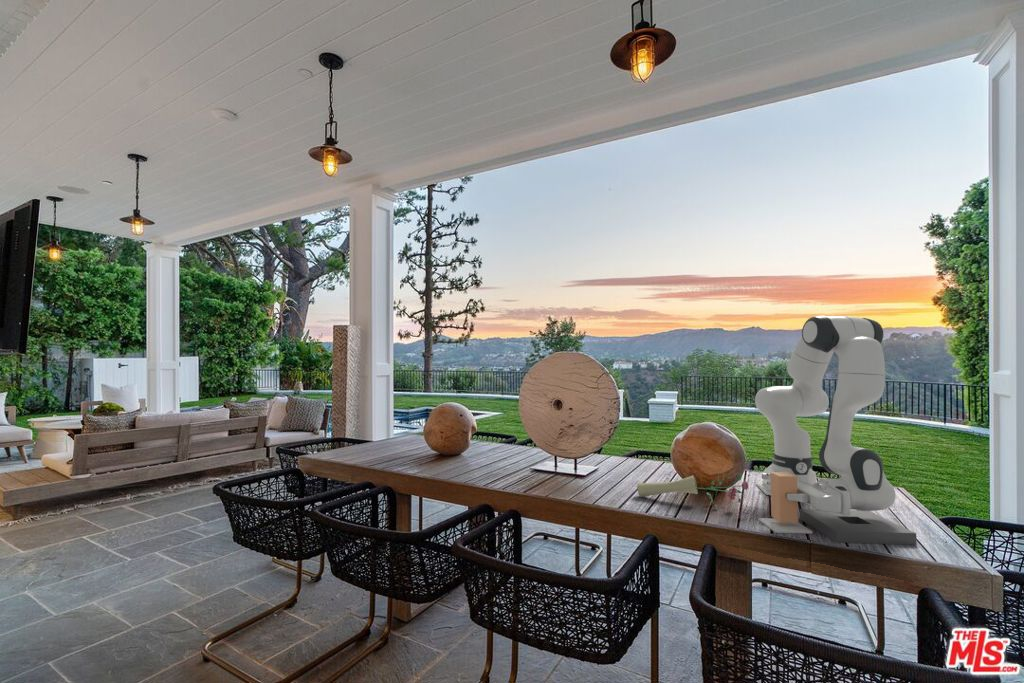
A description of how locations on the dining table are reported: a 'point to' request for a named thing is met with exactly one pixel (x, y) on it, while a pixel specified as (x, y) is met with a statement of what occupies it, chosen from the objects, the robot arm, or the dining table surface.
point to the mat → (784, 526)
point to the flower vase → (686, 487)
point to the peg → (783, 497)
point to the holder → (857, 527)
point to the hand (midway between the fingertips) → (780, 493)
